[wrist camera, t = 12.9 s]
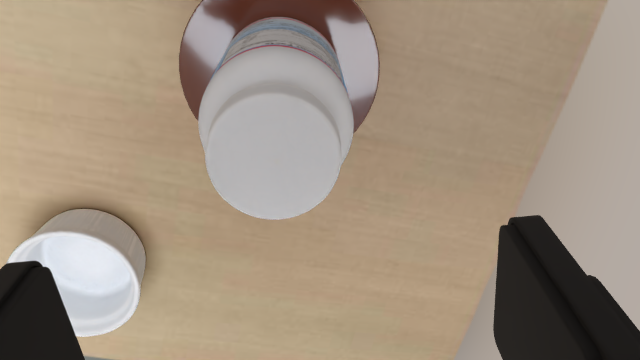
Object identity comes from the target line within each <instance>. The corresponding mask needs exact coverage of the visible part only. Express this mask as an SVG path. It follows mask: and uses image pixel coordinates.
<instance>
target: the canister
mask: <svg viewBox="0 0 640 360" xmlns="http://www.w3.org/2000/svg"><path fill="white" fill-rule="evenodd" d="M270 17H287V18H292V19H295V20H298V21H301V22H303V23H305V24H307V25H309V26H311V27H313V28H314V29H316V30H317V31H318V32H319V33H321V34H322V35H323V36H324V37H325V38H326V39H327V41H328V42H329V43H330V44H331V46H332V48H333V49H334V51H335V53H336V55H337V58H338V61H339V64H340V67H341V71H342V74H343V78H344V82H345V85H346V88H347V92H348V96H349V99H350V103H351V106H352V112H353V119H354V130H353V133H354V132H355V131H356V130H357V129H358V127H359V126H360V125H361V124H362V122H363V121H364V119H365V117H366V116H367V114H368V112H369V110H370V108H371V106H372V104H373V101H374V98H375V95H376V91H377V88H378V81H379V67H380V62H379V53H378V47H377V43H376V39H375V36H374V34H373V31H372V28H371V26H370V24H369V22H368V20H367V18H366V17H365V15H364V13H363V12H362V10H361V9H360V8H359V6H358V5H357V4H356V2H355V1H354V0H202V1H201V2H200V4H199V5H198V6H197V7H196V9H195V11H194V12H193V14H192V16H191V17H190V19H189V21H188V24H187V26H186V28H185V31H184V34H183V38H182V41H181V46H180V54H179V72H180V79H181V85H182V88H183V92H184V95H185V98H186V100H187V102H188V105H189V107H190V109H191V111H192V112H193V114H194V116H195V118H196V119H197V120H198V117H199V108H200V104H201V101H202V97H203V95H204V92H205V90H206V88H207V86H208V84H209V82H210V80H211V78H212V76H213V74H214V72H215V70H216V68H217V66H218V64H219V62H220V60H221V58H222V57H223V55H224V53H225V51H226V49H227V47H228V46H229V44H230V43H231V41H232V40H233V39H234V37H235V36H236V35H237V34H238V33H239V32H240V31H241V30H242V29H244V28H245V27H247V26H248V25H250V24H252V23H253V22H256V21H258V20H261V19H265V18H270Z"/></svg>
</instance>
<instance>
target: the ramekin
mask: <svg viewBox="0 0 640 360" xmlns="http://www.w3.org/2000/svg"><path fill="white" fill-rule="evenodd" d="M25 261H38V262H40V263H41V264H42V266H43V267H48V268H49V269H50V270H51V272H52V275H53V277H54V280H55V283H56V285H57V288H58V290H59V293H60V296H61V298H62V301H63V304H64V306H65V309H66V311H67V314H68V317H69V319H70V322H71V325H72V327H73V330H74V332H75V335H76V336H81V337H82V336H84V337H85V336H86V337H87V336H96V335H101V334H105V333H108V332H111V331H113V330H115V329H117V328H119V327H120V326H122V325H123V324H124V323H126V322H127V321H128V320H129V319H130V317H131V316H132V315H133V313H134V312H135V310H136V308H137V306H138V303H139V299H140V291H141V282H142V279H143V275H144V271H145V263H146V256H145V251H144V247H143V245H142V242H141V240H140V239H139V237H138V236H137V235H136V233H135V232H134V231H133V230H132V229H131V228H130V227H129V226H128V225H127V224H126V223H124V222H123V221H122V220H120V219H119V218H117V217H115V216H113V215H111V214H109V213H106V212H102V211H99V210H93V209H75V210H69V211H66V212H63V213H61V214H59V215H56V216H55V217H53V218H52V219H51V220H49V221H48V222H46V223H45V224H44V225H43V226H42V227H41V228H40V229H39V230H38V231H37V232H36V233H35V234H34V235H33V236H31V237H30V238H28V239H27V240H25V241H24V242H22V243H21V244H20V245H19V246H18V247H17V248H16V249H15V250H14V251H13V252H12V254H11V255H10V257H9V259H8V261H7V263H14V262H25Z"/></svg>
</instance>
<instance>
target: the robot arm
mask: <svg viewBox="0 0 640 360" xmlns="http://www.w3.org/2000/svg"><path fill="white" fill-rule="evenodd" d="M494 337H495V342H496V345H497V347H498V350H499V352H500V354H501V357H502V359H503V360H640V331H639V330H638V329H637V327H636V326H635V325H634V324H633V322H632V321H631V320H630V319H629V317H628V316H627V315H626V313H625V312H624V311H623V310H622V309H621V307H620V306H619V305H618V304H617V302H616V301H615V300H614V299H613V297H612V296H611V295H610V293H609V292H608V291H607V290H606V288H605V287H604V286H603V285H602V283H601V282H600V281H599V280H598V279H597V278H596V277H593V276H591V275H588V276H587V275H586V274H585V272H584V271H583V270H582V269H581V267H580V266H579V265H578V263H577V262H576V261H575V259H574V258H573V257H572V256H571V254H570V253H569V252H568V251H567V249H566V248H565V246H564V245H563V244H562V242H561V241H560V240H559V239H558V237H557V236H556V235H555V233H554V232H553V231H552V230H551V228H550V227H549V226H548V224H547V223H546V222H545V220H544V219H543V218H542V217H541V216H538V215H536V216H525V217H513V218H510V219H509V222H508V225H503V226H501V227H500V231H499V245H498V262H497V278H496V294H495V310H494ZM0 360H85V359H84V356H83V353H82V351H81V348H80V346H79V343H78V340H77V338H76V335H75V332H74V330H73V327H72V325H71V322H70V319H69V317H68V314H67V311H66V309H65V306H64V304H63V301H62V298H61V296H60V293H59V290H58V288H57V285H56V283H55V280H54V277H53V275H52V272H51V270H50V269H49V268H48V267H43V266H42V264H41V263H40V262H38V261H25V262H14V263H7V264H6V265H4V266H3V267H2V268H1V269H0Z"/></svg>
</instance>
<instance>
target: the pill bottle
mask: <svg viewBox="0 0 640 360" xmlns="http://www.w3.org/2000/svg"><path fill="white" fill-rule="evenodd" d="M198 125H199V134H200V139H201V142H202V146H203V148H204V151H205V161H206V167H207V172H208V174H209V177H210V180H211V182H212V184H213V186H214V187H215V189H216V190H217V192H218V193H219V194H220V196H221V197H222V198H223V199H224V200H225V201H226V202H228V203H229V204H230V205H231V206H233V207H234V208H236V209H237V210H239V211H241V212H243V213H245V214H247V215H250V216H253V217H257V218H262V219H271V220H277V219H287V218H292V217H295V216H298V215H301V214H303V213H305V212H307V211H309V210H311V209H313V208H314V207H315V206H317V205H318V204H319V203H320V202H322V201H323V200H324V199H325V198H326V197H327V195H328V194H329V193H330V191H331V190H332V188H333V186H334V185H335V183H336V181H337V178H338V175H339V172H340V167H341V165H342V163H343V162H344V160H345V158H346V156H347V154H348V152H349V149H350V146H351V143H352V138H353V130H354V119H353V112H352V106H351V103H350V99H349V96H348V92H347V88H346V85H345V82H344V78H343V74H342V71H341V67H340V64H339V61H338V58H337V55H336V53H335V51H334V49H333V48H332V46H331V44H330V43H329V42H328V41H327V39H326V38H325V37H324V36H323V35H322V34H321V33H319V32H318V31H317V30H316V29H314V28H313V27H311V26H309V25H307V24H305V23H303V22H301V21H298V20H295V19H292V18H287V17H270V18H265V19H261V20H258V21H256V22H253V23H252V24H250V25H248V26H247V27H245V28H244V29H242V30H241V31H240V32H239V33H238V34H237V35H236V36H235V37H234V39H233V40H232V41H231V43H230V44H229V46H228V47H227V49H226V51H225V53H224V55H223V57H222V58H221V60H220V62H219V64H218V66H217V68H216V70H215V72H214V74H213V76H212V78H211V80H210V82H209V84H208V86H207V88H206V90H205V92H204V95H203V97H202V101H201V104H200V108H199V117H198Z"/></svg>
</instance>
